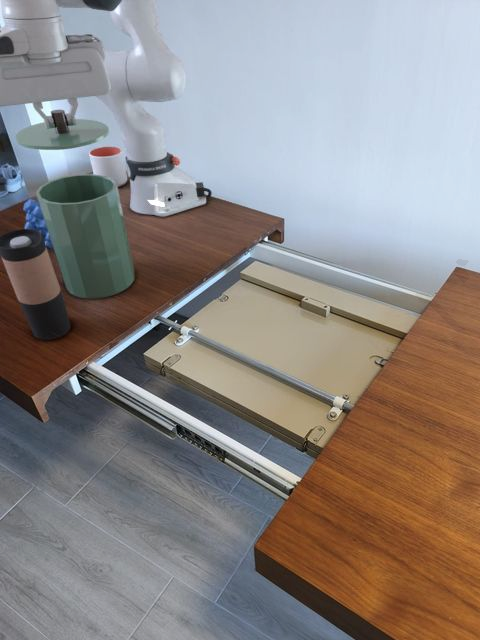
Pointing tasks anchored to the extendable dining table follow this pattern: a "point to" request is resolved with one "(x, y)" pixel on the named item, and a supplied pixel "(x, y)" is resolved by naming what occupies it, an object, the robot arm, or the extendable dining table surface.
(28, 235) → the travel mug
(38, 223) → the grapes
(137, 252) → the extendable dining table surface
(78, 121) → the lid
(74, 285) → the pot
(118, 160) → the cup
